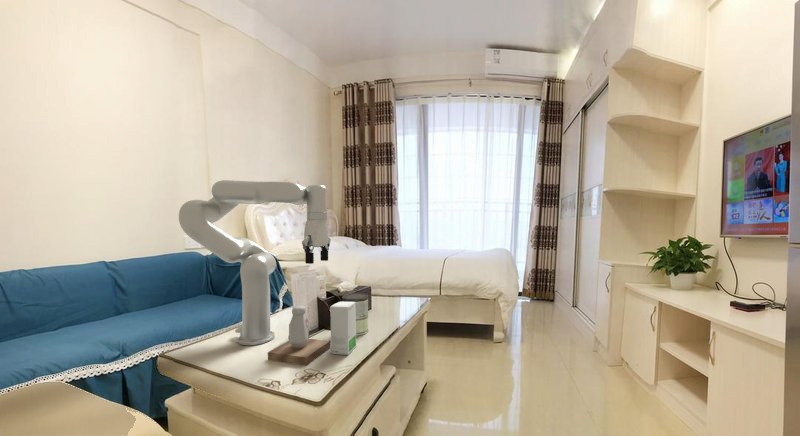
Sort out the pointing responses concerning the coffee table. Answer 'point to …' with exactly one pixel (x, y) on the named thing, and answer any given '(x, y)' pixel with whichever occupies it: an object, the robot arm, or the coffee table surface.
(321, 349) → the walnut slab
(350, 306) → the skincare box
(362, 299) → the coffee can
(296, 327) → the salt shaker
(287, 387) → the coffee table surface
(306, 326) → the tea bag
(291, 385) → the coffee table surface
